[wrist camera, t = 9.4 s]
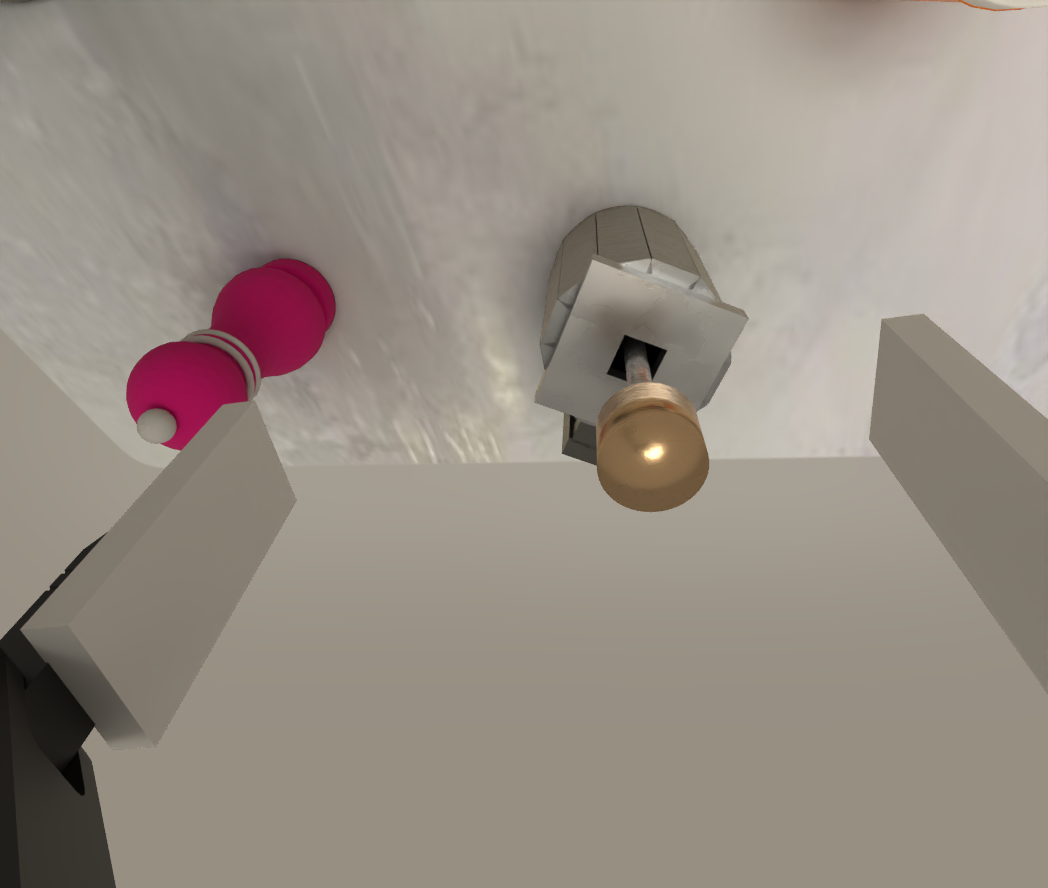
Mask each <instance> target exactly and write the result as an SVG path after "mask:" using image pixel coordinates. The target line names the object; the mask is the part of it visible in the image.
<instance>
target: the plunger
mask: <svg viewBox="0 0 1048 888" xmlns="http://www.w3.org/2000/svg"><path fill="white" fill-rule="evenodd" d="M656 348H658V347H657V346H654V345H652V344H649V343H646V342H644V341H641V340H638V339H635V338H633V337H630V336H627V335H624V337H623V339H622V342H621V344H620V346H619V348H618V350H617V352H616V355H615V356H620V357H624V359H625V367H626V376H627V384H628V387H625V388H623V389H621V390H620V391H618V392H616V393H615V394H614V395H613V396H611V397H610V398H609V399H608V400H607V401H606V403H605V404H604V405H603V407H602V409H601V410H600V413H599V415H598V418H597V423H596V443H597V472H598V477H599V481H600V482H601V485H602V487H603V489H604V490H605V491H606V493H607V494H608V495H609V496H610V497H611V498H612V499H613V500H615V501H616V502H617V503H619V504H621V505H623V506H625V507H627V508H630V509H633V510H637V511H643V512H656V511H657V512H658V511H664V510H668V509H672V508H674V507H677V506H679V505H681V504H683V503H685V502H686V501H688V500H689V499H691V498H692V497H693V496H694V495H695V494H696V493H697V492H698V491H699V490H700V488H701V487H702V485H703V484H704V481H705V480H706V477H707V474H708V470H709V456H708V452H707V449H706V445H705V442H704V438H703V435H702V431H701V428H700V424H699V421H698V418H697V414H696V411H695V409H694V407H693V405H692V403H691V402H690V400H689V399H688V398H687V397H686V396H685V395H684V394H683V393H681V392H680V391H678V390H677V389H675V388H673V387H671V386H668V385H665V384H661V383H652V379H651V373H650V368H649V363H648V357H647V353H648V352H650V351H652V350H654V349H656Z"/></svg>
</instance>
